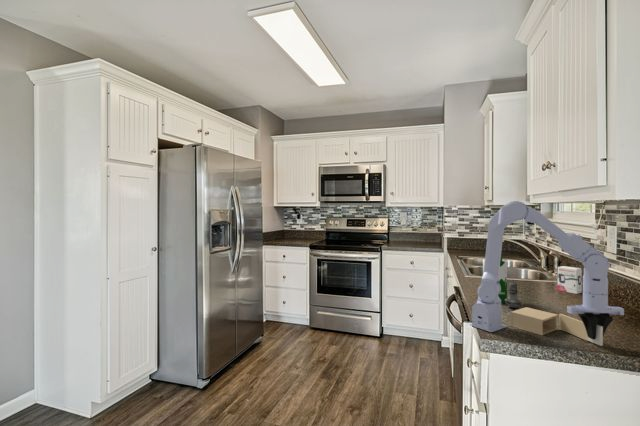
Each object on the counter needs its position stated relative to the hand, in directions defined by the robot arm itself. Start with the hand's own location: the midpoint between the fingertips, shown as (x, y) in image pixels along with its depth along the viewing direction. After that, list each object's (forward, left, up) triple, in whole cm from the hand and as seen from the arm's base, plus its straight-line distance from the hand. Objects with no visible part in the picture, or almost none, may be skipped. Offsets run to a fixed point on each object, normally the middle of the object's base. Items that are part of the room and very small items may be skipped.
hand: (595, 338), depth 97 cm
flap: (+2, +5, -2) cm, 5 cm away
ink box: (+67, +33, -2) cm, 74 cm away
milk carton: (+21, +43, -2) cm, 47 cm away
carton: (0, +17, -2) cm, 17 cm away
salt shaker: (+15, +32, -2) cm, 35 cm away
